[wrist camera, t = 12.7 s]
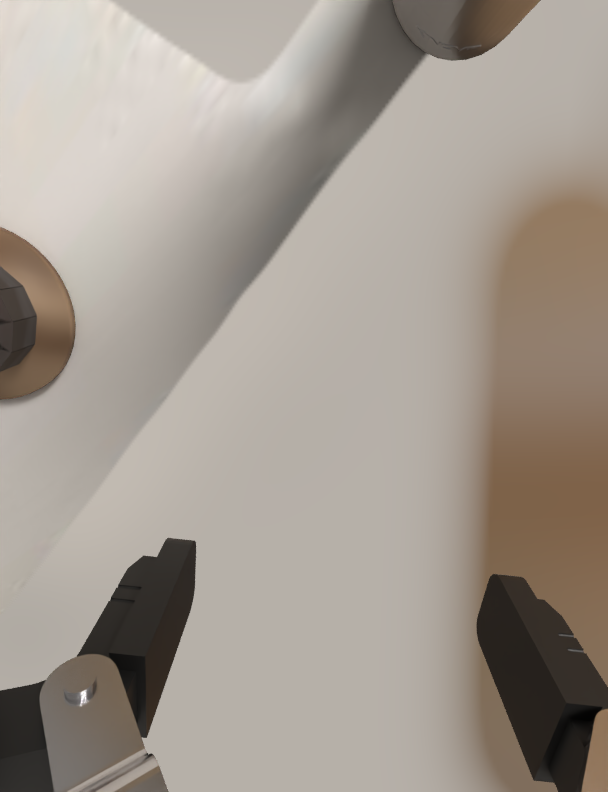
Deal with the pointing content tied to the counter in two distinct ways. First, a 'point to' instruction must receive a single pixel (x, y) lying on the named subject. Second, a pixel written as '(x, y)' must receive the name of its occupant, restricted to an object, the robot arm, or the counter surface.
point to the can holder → (31, 318)
